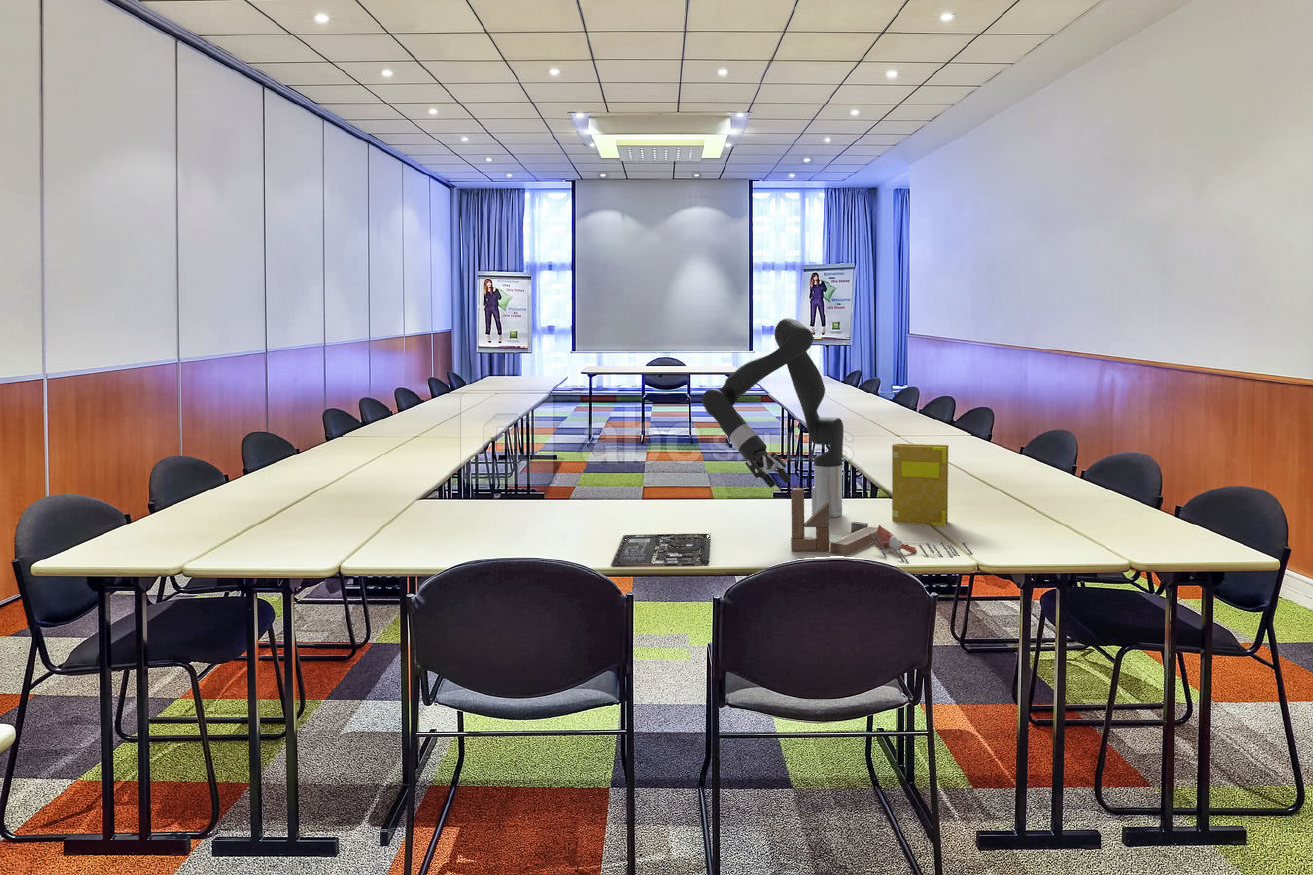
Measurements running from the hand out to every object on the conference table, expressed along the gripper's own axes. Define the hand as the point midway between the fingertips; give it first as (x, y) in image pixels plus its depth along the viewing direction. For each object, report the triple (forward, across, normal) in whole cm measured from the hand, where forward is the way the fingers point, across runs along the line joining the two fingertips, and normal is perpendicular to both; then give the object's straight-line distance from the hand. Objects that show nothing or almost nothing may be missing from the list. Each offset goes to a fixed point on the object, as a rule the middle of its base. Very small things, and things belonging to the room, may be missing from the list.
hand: (781, 483), depth 273 cm
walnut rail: (+25, +12, +2) cm, 27 cm away
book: (+28, +50, -2) cm, 58 cm away
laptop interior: (-5, -23, +33) cm, 40 cm away
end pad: (+20, +15, +7) cm, 26 cm away
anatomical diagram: (+40, +14, -12) cm, 44 cm away
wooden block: (+20, 0, +7) cm, 21 cm away
